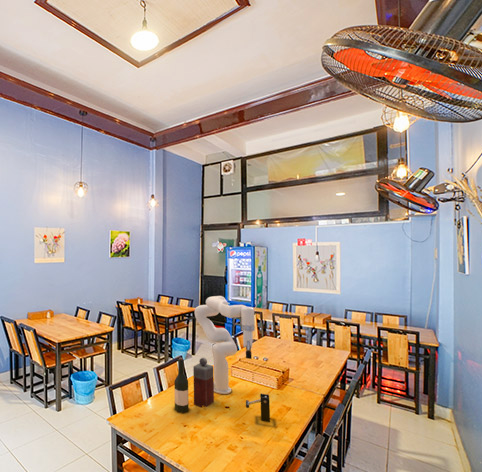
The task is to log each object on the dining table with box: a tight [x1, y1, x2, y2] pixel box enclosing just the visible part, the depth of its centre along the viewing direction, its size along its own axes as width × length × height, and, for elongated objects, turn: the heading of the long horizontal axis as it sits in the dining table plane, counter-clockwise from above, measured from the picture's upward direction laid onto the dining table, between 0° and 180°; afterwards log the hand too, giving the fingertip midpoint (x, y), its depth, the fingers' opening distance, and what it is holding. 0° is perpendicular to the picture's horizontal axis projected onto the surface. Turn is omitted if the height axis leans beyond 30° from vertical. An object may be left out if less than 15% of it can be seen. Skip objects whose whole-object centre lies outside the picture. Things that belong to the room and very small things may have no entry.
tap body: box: [259, 393, 271, 423], centre depth 172 cm, size 9×8×14 cm
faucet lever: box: [245, 396, 267, 409], centre depth 174 cm, size 12×6×2 cm, turn 69°
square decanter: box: [192, 357, 215, 408], centre depth 193 cm, size 9×11×28 cm
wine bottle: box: [174, 357, 190, 414], centre depth 186 cm, size 8×8×30 cm
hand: (248, 358), depth 189 cm, fingers closed
